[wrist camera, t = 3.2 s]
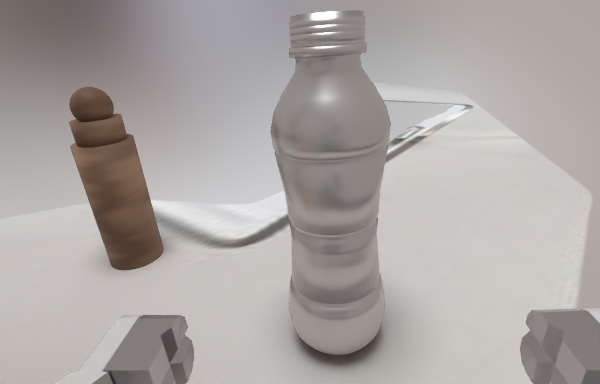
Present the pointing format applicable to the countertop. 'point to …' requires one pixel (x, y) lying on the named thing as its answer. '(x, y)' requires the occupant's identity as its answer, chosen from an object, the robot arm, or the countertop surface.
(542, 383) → the robot arm
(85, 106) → the pepper mill
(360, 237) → the plastic bottle
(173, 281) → the countertop surface
